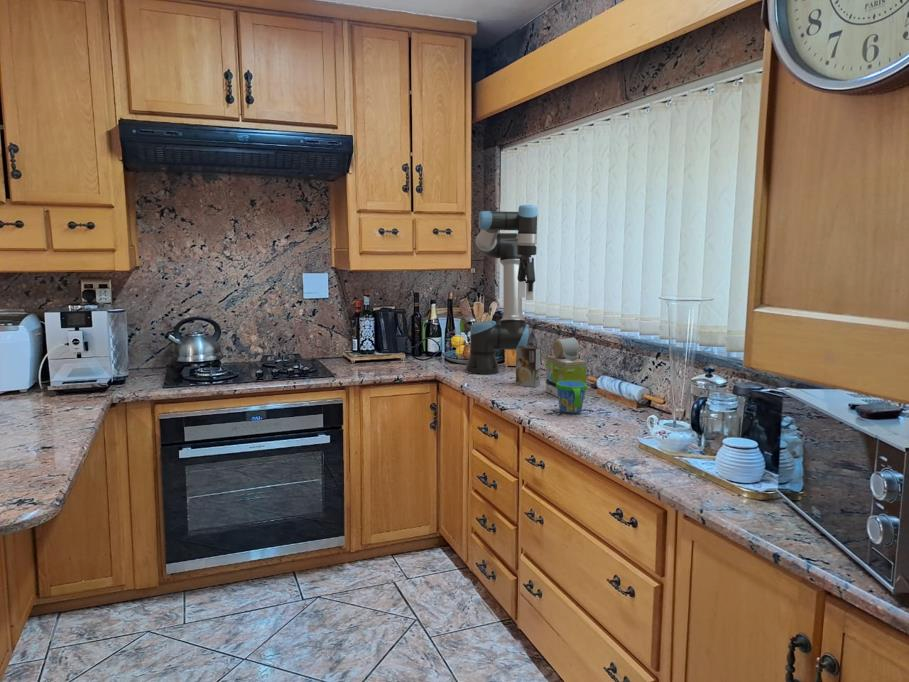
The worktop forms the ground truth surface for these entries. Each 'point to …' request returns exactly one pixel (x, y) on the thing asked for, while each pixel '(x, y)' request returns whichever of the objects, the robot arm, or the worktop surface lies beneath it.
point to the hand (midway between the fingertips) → (525, 298)
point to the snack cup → (571, 396)
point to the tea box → (563, 372)
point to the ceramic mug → (566, 348)
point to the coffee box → (528, 366)
